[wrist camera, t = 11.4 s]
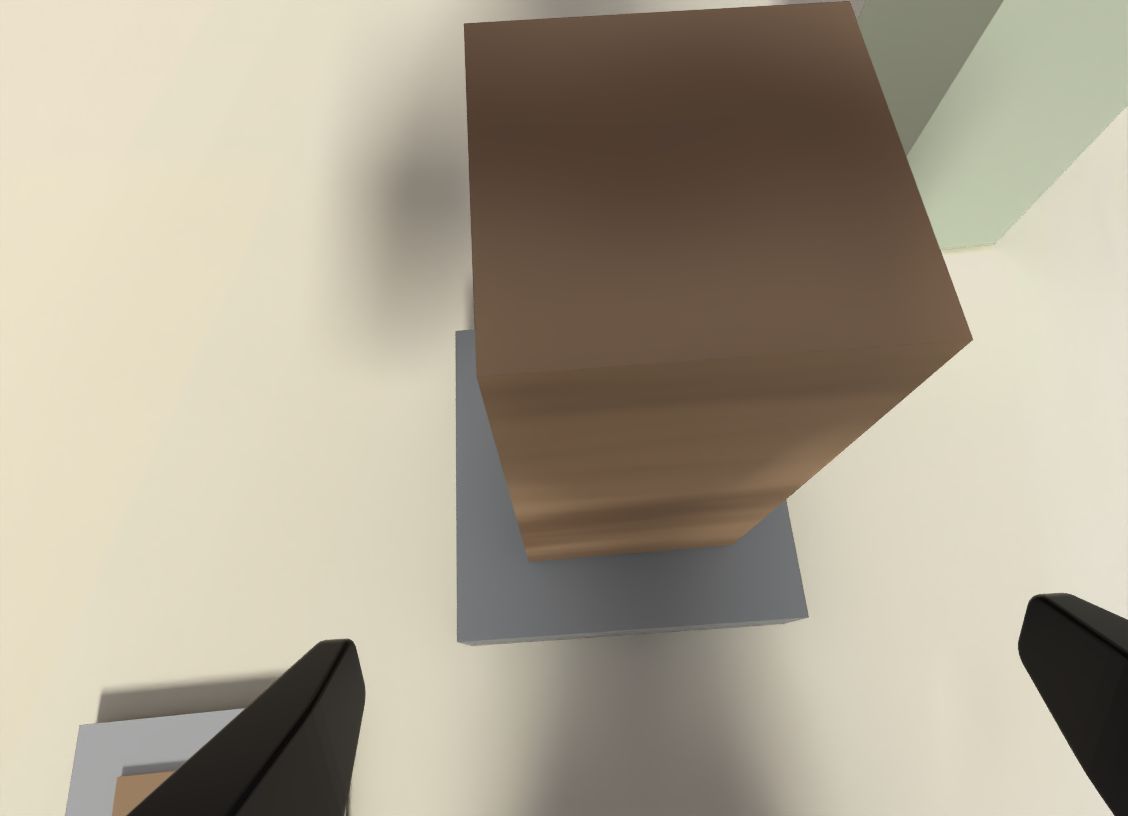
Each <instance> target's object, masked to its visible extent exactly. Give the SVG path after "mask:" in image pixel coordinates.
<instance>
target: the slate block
mask: <svg viewBox="0 0 1128 816" xmlns="http://www.w3.org/2000/svg"><path fill="white" fill-rule="evenodd" d="M456 520H457V642H459V643H463V644H466V645H470V646H476V645H491V644H505V643H519V642H533V641H547V640H561V639H576V638H590V637H604V636H618V635H632V634H647V633H661V632H675V631H689V630H703V629H718V628H732V627H746V626H760V625H774V624H785V623H789V622H792V621H796V620H800V619H804V618H808V617H809V616H808V610H807V605H806V600H805V595H804V590H803V585H802V579H801V574H800V569H799V564H798V559H797V554H796V548H795V543H794V538H793V533H792V528H791V523H790V517H789V512H788V507H787V502H786V500H785V501H783V502H782V503H781V504H780V505H779V506H778V507H776V508H775V509H774V510H773V511H772V512H771V513H769V514H768V515H767V516H766V517H765V518H763V519H762V520H761V521H760V522H759V523H758V524H756V525H755V526H754V527H753V528H752V529H751V530H749V531H748V532H747V533H746V534H745V535H744V536H742V537H741V538H740V539H739V540H738V541H737V542H735V543H734V544H733V545H726V546H714V547H702V548H690V549H678V550H667V551H655V552H643V553H631V554H619V555H607V556H595V557H583V558H571V559H559V560H548V561H536V562H529V561H528V558H527V554H526V551H525V547H524V544H523V540H522V536H521V533H520V529H519V526H518V522H517V519H516V515H515V512H514V508H513V505H512V501H511V497H510V494H509V490H508V487H507V483H506V480H505V476H504V473H503V469H502V466H501V462H500V458H499V455H498V451H497V448H496V444H495V441H494V437H493V434H492V430H491V427H490V423H489V419H488V416H487V412H486V409H485V405H484V402H483V398H482V395H481V391H480V388H479V384H478V380H477V377H476V350H475V330H463V331H456Z"/></svg>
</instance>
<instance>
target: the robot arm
mask: <svg viewBox="0 0 1128 816" xmlns="http://www.w3.org/2000/svg"><path fill="white" fill-rule="evenodd" d="M1018 650H1019V655H1020V658H1021V661H1022V663H1023V665H1024V667H1025V668H1026V670H1027V672H1028V674H1029V675H1030V677H1031V679H1032V681H1033V682H1034V684H1035V686H1036V688H1037V690H1038V691H1039V693H1040V695H1041V697H1042V698H1043V700H1044V702H1045V704H1046V705H1047V707H1048V709H1049V711H1050V712H1051V714H1052V716H1053V718H1054V719H1055V721H1056V723H1057V725H1058V726H1059V728H1060V730H1061V732H1062V733H1063V735H1064V737H1065V739H1066V740H1067V742H1068V744H1069V746H1070V748H1071V749H1072V751H1073V753H1074V755H1075V756H1076V758H1077V760H1078V761H1079V763H1080V764H1081V766H1082V768H1083V769H1084V771H1085V773H1086V774H1087V776H1088V777H1089V779H1090V780H1091V782H1092V783H1093V785H1094V787H1095V788H1096V790H1097V791H1098V793H1099V794H1100V796H1101V797H1102V798H1103V800H1104V801H1105V803H1106V804H1107V806H1108V807H1109V809H1110V810H1111V811H1112V813H1113V814H1114V816H1128V620H1127V619H1125V618H1123V617H1120V616H1118V615H1116V614H1114V613H1111V612H1109V611H1107V610H1105V609H1103V608H1100V607H1098V606H1096V605H1094V604H1091V603H1089V602H1087V601H1085V600H1083V599H1080V598H1078V597H1076V596H1074V595H1071V594H1067V593H1052V594H1039V595H1035V596H1033V597H1032V598H1031V599H1030V601H1029V603H1028V606H1027V610H1026V613H1025V617H1024V621H1023V625H1022V629H1021V633H1020V637H1019V641H1018ZM364 705H365V684H364V679H363V675H362V671H361V667H360V662H359V658H358V654H357V650H356V646H355V644H354V642H353V641H352V640H350V639H333V640H324V641H321V642H319V643H318V644H316V645H315V646H314V647H313V648H312V649H311V650H309V651H308V652H307V653H306V654H305V655H304V656H303V657H302V658H301V659H299V660H298V661H297V662H296V663H295V664H294V665H293V666H292V667H291V668H289V669H288V670H287V671H286V672H285V673H284V674H283V675H282V676H281V677H279V678H278V679H277V680H276V681H275V682H274V683H273V684H272V685H271V686H269V687H268V688H267V689H266V690H265V691H264V692H263V693H262V694H260V695H259V696H258V697H257V698H256V699H255V700H254V701H253V702H252V703H250V704H249V705H248V706H247V707H246V708H245V709H244V710H243V711H242V712H240V713H239V714H238V715H237V716H236V717H235V718H234V719H233V720H232V721H230V722H229V723H228V724H227V725H226V726H225V727H224V728H223V729H221V730H220V731H219V732H218V733H217V734H216V735H215V736H214V737H213V738H211V739H210V740H209V741H208V742H207V743H206V744H205V745H204V746H203V747H201V748H200V749H199V750H198V751H197V752H196V753H195V754H194V755H193V756H191V757H190V758H189V759H188V760H187V761H186V762H185V763H184V764H182V765H181V766H180V767H179V768H178V769H177V770H176V771H175V772H174V773H172V774H171V775H170V776H169V777H168V778H167V779H166V780H165V781H164V782H162V783H161V784H160V785H159V786H158V787H157V788H156V789H155V790H154V791H152V792H151V793H150V794H149V795H148V796H147V797H146V798H145V799H143V800H142V801H141V802H140V803H139V804H138V805H137V806H136V807H135V808H133V809H132V810H131V811H130V812H129V813H128V814H127V815H126V816H344V814H345V810H346V805H347V799H348V794H349V788H350V783H351V777H352V772H353V766H354V761H355V755H356V749H357V744H358V738H359V733H360V727H361V722H362V716H363V711H364Z"/></svg>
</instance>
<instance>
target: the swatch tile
mask: <svg viewBox="0 0 1128 816" xmlns="http://www.w3.org/2000/svg"><path fill="white" fill-rule="evenodd" d="M244 709H245V708H242V709H232V710H222V711H213V712H203V713H193V714H183V715H174V716H164V717H154V718H144V719H134V720H125V721H115V722H105V723H95V724H86V725H79V732H78V738H77V744H76V751H75V757H74V763H73V769H72V776H71V782H70V788H69V794H68V801H67V807H66V813H65V816H126V815H127V814H128V813H129V812H130V811H131V810H132V809H133V808H135V807H136V806H137V805H138V804H139V803H140V802H141V801H142V800H143V799H145V798H146V797H147V796H148V795H149V794H150V793H151V792H152V791H154V790H155V789H156V788H157V787H158V786H159V785H160V784H161V783H162V782H164V781H165V780H166V779H167V778H168V777H169V776H170V775H171V774H172V773H174V772H175V771H176V770H177V769H178V768H179V767H180V766H181V765H182V764H184V763H185V762H186V761H187V760H188V759H189V758H190V757H191V756H193V755H194V754H195V753H196V752H197V751H198V750H199V749H200V748H201V747H203V746H204V745H205V744H206V743H207V742H208V741H209V740H210V739H211V738H213V737H214V736H215V735H216V734H217V733H218V732H219V731H220V730H221V729H223V728H224V727H225V726H226V725H227V724H228V723H229V722H230V721H232V720H233V719H234V718H235V717H236V716H237V715H238V714H239V713H240V712H242V711H243V710H244ZM344 816H346V810H345V814H344Z"/></svg>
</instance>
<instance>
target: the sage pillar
mask: <svg viewBox="0 0 1128 816" xmlns="http://www.w3.org/2000/svg"><path fill="white" fill-rule="evenodd" d="M857 23H858V25H859V28H860V31H861V34H862V36H863V39H864V42H865V45H866V47H867V50H868V53H869V56H870V58H871V61H872V64H873V67H874V69H875V72H876V75H877V78H878V80H879V83H880V86H881V89H882V91H883V94H884V97H885V99H886V102H887V105H888V108H889V110H890V113H891V116H892V119H893V121H894V124H895V127H896V130H897V132H898V135H899V138H900V141H901V143H902V146H903V149H904V152H905V154H906V157H907V160H908V163H909V165H910V168H911V171H912V173H913V176H914V179H915V182H916V184H917V187H918V190H919V193H920V195H921V198H922V201H923V204H924V206H925V209H926V212H927V215H928V217H929V220H930V223H931V226H932V228H933V231H934V234H935V236H936V239H937V242H938V245H939V247H940V250H944V249H954V248H964V247H974V246H985V245H995V244H996V243H997V242H998V241H999V239H1000V238H1001V237H1002V236H1003V235H1004V234H1005V233H1006V232H1007V231H1008V230H1009V229H1010V228H1011V227H1012V226H1013V225H1014V224H1015V223H1016V222H1017V221H1018V220H1019V219H1020V217H1021V216H1022V215H1023V214H1024V213H1025V212H1026V211H1027V210H1028V209H1029V208H1030V207H1031V206H1032V205H1033V204H1034V203H1035V202H1036V201H1037V200H1038V199H1039V198H1040V197H1041V196H1042V194H1043V193H1044V192H1045V191H1046V190H1047V189H1048V188H1049V187H1050V186H1051V185H1052V184H1053V183H1054V182H1055V181H1056V180H1057V179H1058V178H1059V177H1060V176H1061V175H1062V174H1063V172H1064V171H1065V170H1066V169H1067V168H1068V167H1069V166H1070V165H1071V164H1072V163H1073V162H1074V161H1075V160H1076V159H1077V158H1078V157H1079V156H1080V155H1081V154H1082V153H1083V152H1084V150H1085V149H1086V148H1087V147H1088V146H1089V145H1090V144H1091V143H1092V142H1093V141H1094V140H1095V139H1096V138H1097V137H1098V136H1099V135H1100V134H1101V133H1102V132H1103V131H1104V130H1105V128H1106V127H1107V126H1108V125H1109V124H1110V123H1111V122H1112V121H1113V120H1114V119H1115V118H1116V117H1117V116H1118V115H1119V114H1120V113H1121V112H1122V111H1123V110H1124V109H1125V108H1126V107H1127V105H1128V0H866V1H865V4H864V6H863V8H862V11H861V13H860V16H859V18H858V20H857Z"/></svg>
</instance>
